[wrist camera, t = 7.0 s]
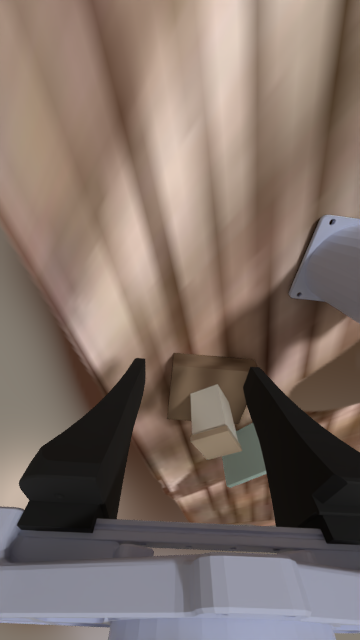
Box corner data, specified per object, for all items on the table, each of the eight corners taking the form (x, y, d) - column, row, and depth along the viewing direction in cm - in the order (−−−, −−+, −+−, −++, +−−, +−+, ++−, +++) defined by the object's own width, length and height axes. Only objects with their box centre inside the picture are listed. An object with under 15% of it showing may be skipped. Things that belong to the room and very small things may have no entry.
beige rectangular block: (218, 383, 25) (227, 430, 20) (230, 402, 27) (242, 451, 21) (188, 393, 26) (190, 441, 21) (202, 411, 28) (207, 459, 22)
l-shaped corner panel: (218, 437, 37) (226, 486, 30) (272, 408, 32) (295, 458, 26) (256, 458, 41) (270, 506, 34) (309, 436, 36) (336, 485, 30)
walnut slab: (252, 356, 27) (260, 372, 24) (233, 406, 32) (238, 424, 30) (174, 350, 26) (173, 365, 24) (168, 401, 32) (167, 418, 29)
